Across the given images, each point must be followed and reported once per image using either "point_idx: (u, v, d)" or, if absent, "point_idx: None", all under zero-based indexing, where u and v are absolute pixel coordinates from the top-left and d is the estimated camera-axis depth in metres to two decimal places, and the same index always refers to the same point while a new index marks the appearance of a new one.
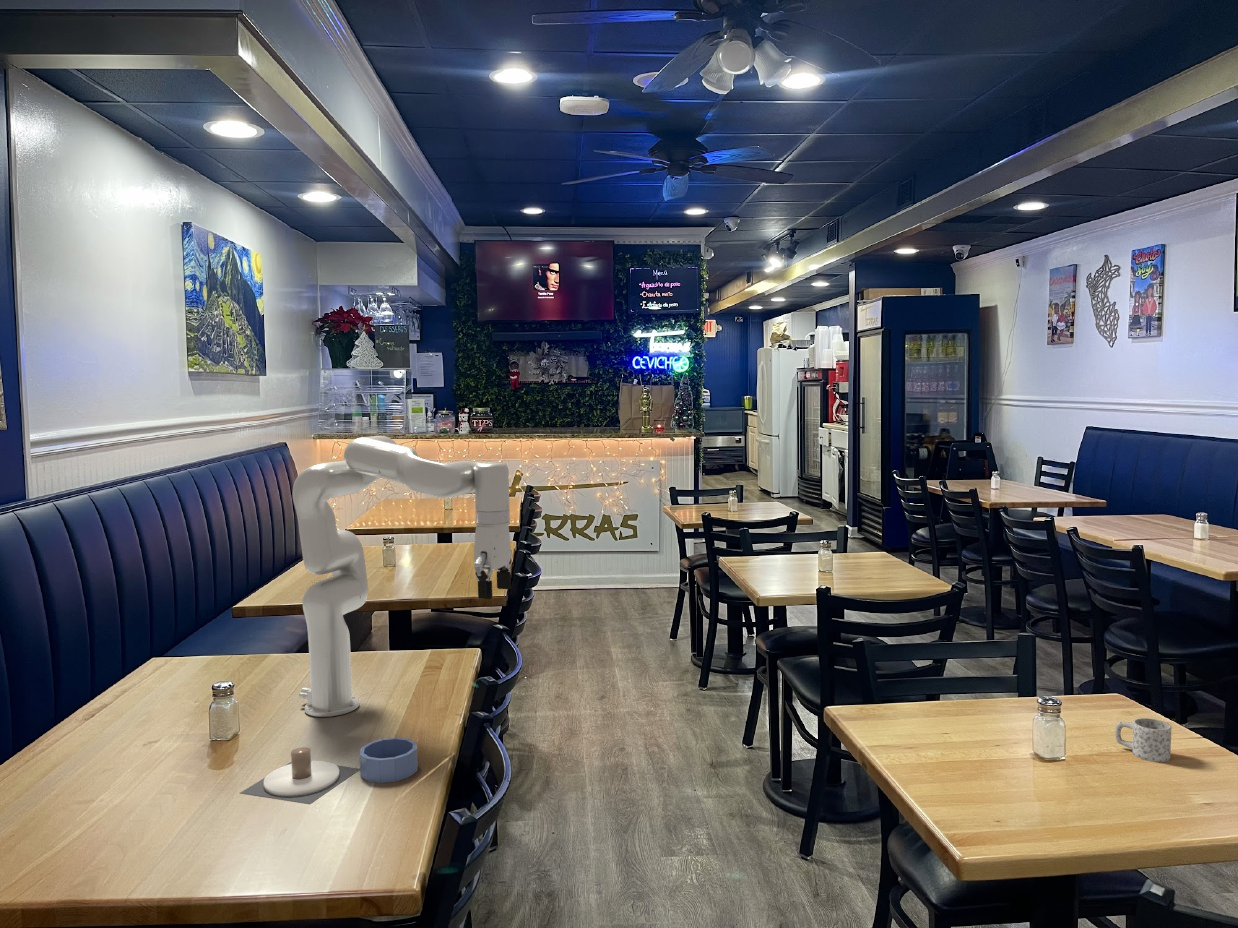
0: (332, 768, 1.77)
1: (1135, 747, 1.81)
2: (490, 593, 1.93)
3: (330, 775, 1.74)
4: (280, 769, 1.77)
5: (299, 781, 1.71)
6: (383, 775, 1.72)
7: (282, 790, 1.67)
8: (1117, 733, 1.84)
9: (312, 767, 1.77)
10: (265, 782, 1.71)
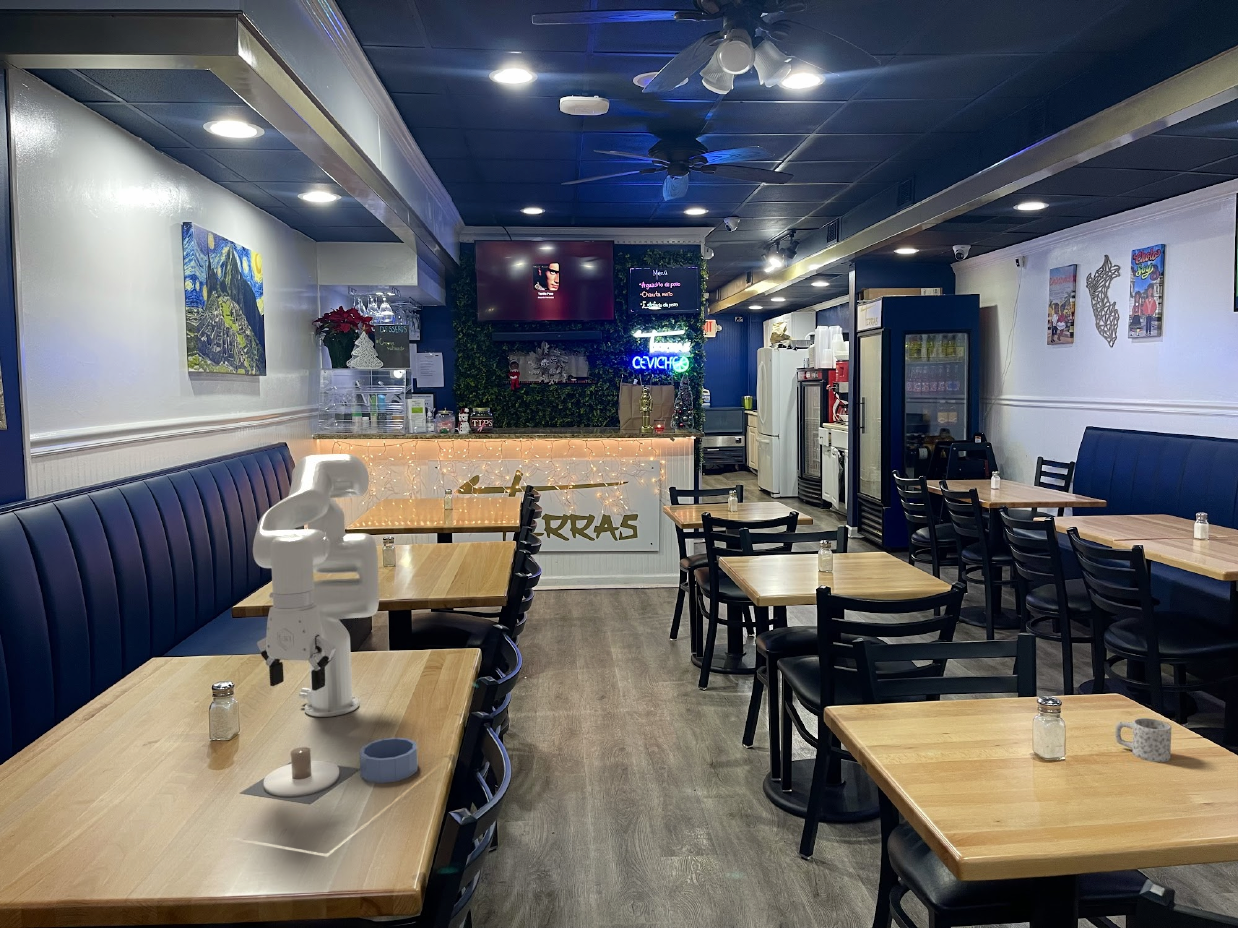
0: (332, 767, 1.77)
1: (1135, 747, 1.81)
2: None
3: (330, 775, 1.74)
4: (280, 769, 1.77)
5: (299, 781, 1.71)
6: (383, 775, 1.72)
7: (282, 790, 1.67)
8: (1117, 733, 1.84)
9: (312, 767, 1.77)
10: (265, 782, 1.71)
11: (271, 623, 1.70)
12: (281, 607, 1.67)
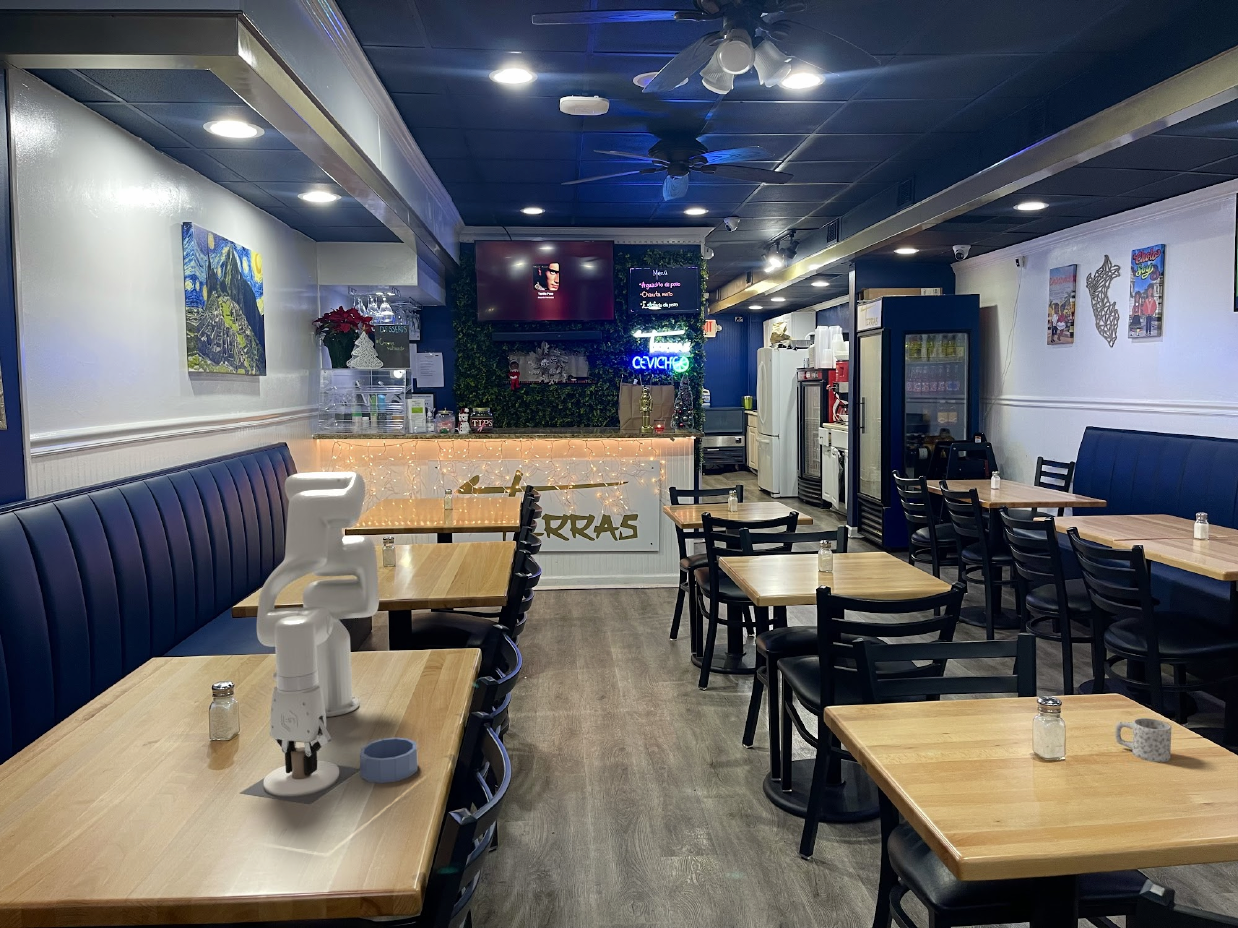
0: (332, 767, 1.77)
1: (1135, 747, 1.81)
2: None
3: (330, 775, 1.74)
4: (280, 769, 1.77)
5: (299, 781, 1.71)
6: (383, 775, 1.72)
7: (282, 790, 1.67)
8: (1117, 733, 1.84)
9: None
10: (265, 782, 1.71)
11: (275, 704, 1.71)
12: (285, 690, 1.69)
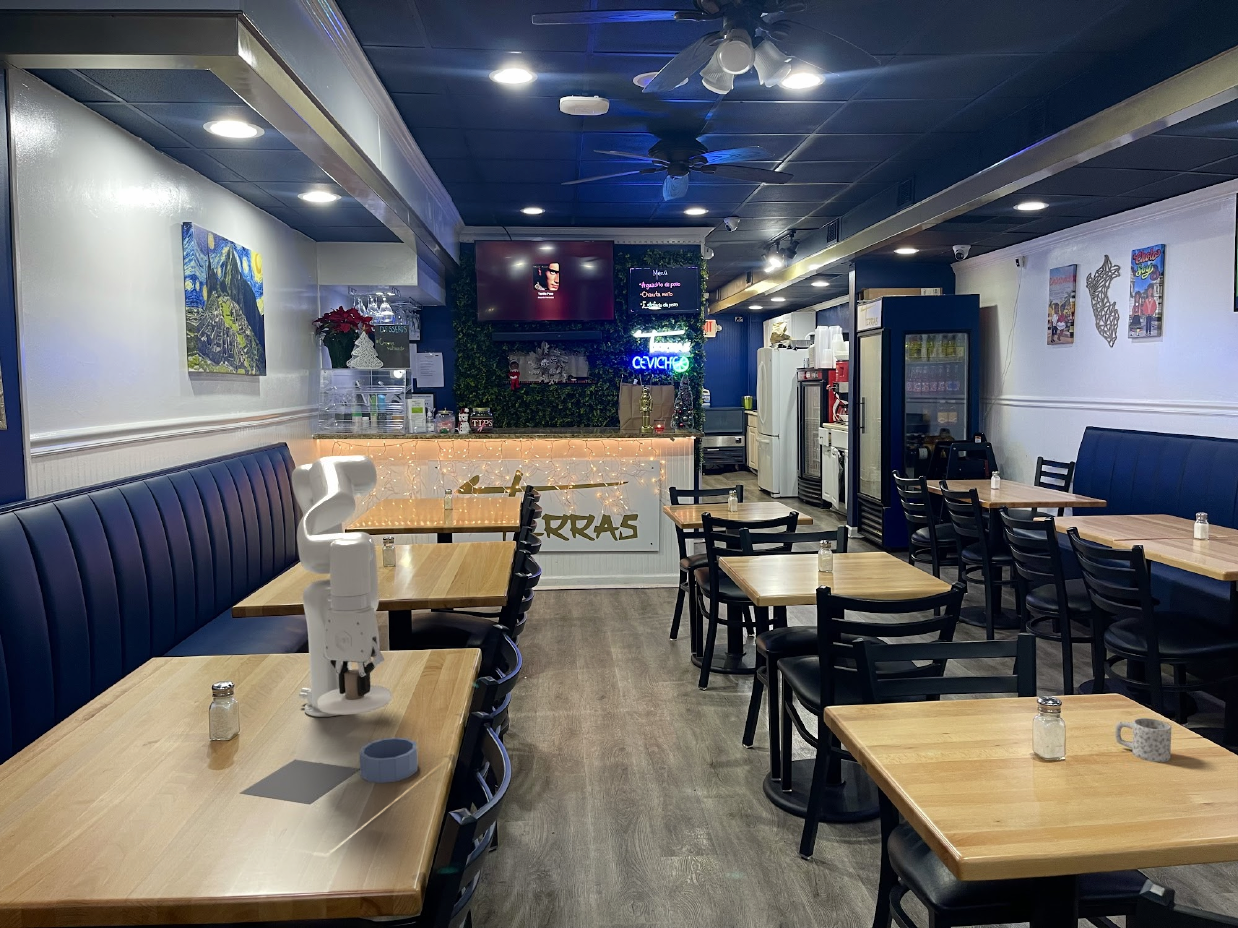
0: (384, 691, 1.78)
1: (1135, 747, 1.81)
2: None
3: (383, 696, 1.75)
4: (333, 691, 1.78)
5: (352, 701, 1.72)
6: (383, 775, 1.72)
7: (336, 708, 1.69)
8: (1117, 733, 1.84)
9: None
10: (319, 702, 1.72)
11: (329, 624, 1.73)
12: (339, 609, 1.70)
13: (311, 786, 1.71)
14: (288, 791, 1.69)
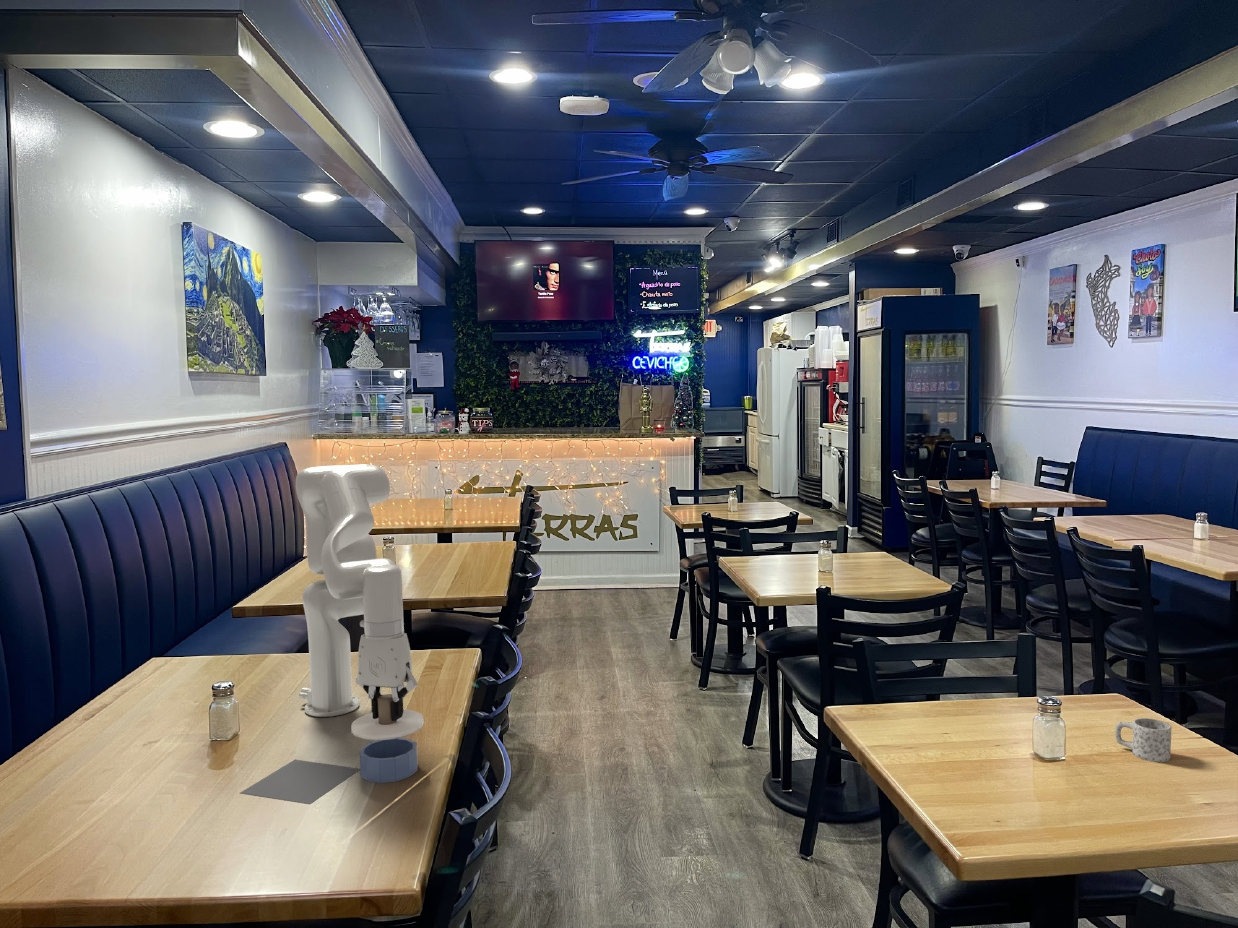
0: (416, 715, 1.80)
1: (1135, 747, 1.81)
2: None
3: (416, 721, 1.77)
4: (365, 716, 1.80)
5: (386, 726, 1.74)
6: (383, 775, 1.72)
7: (372, 734, 1.71)
8: (1117, 733, 1.84)
9: None
10: (353, 727, 1.74)
11: (362, 650, 1.74)
12: (374, 635, 1.72)
13: (311, 786, 1.71)
14: (288, 791, 1.69)
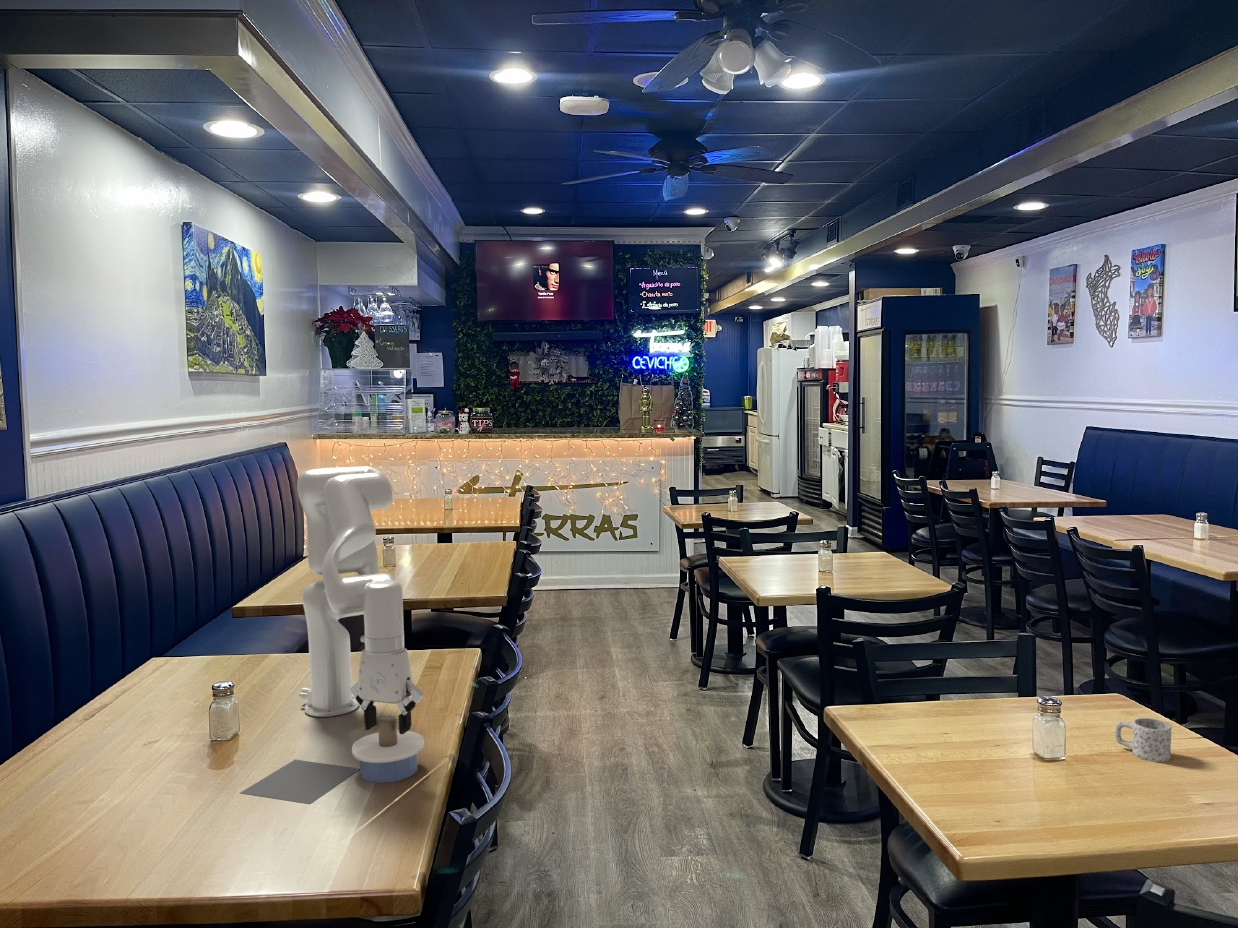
0: (416, 736, 1.81)
1: (1135, 747, 1.81)
2: None
3: (416, 743, 1.77)
4: (365, 738, 1.80)
5: (386, 748, 1.75)
6: (383, 775, 1.72)
7: (372, 757, 1.71)
8: (1117, 733, 1.84)
9: (396, 736, 1.81)
10: (354, 749, 1.75)
11: (363, 666, 1.75)
12: (374, 651, 1.72)
13: (311, 786, 1.71)
14: (288, 791, 1.69)
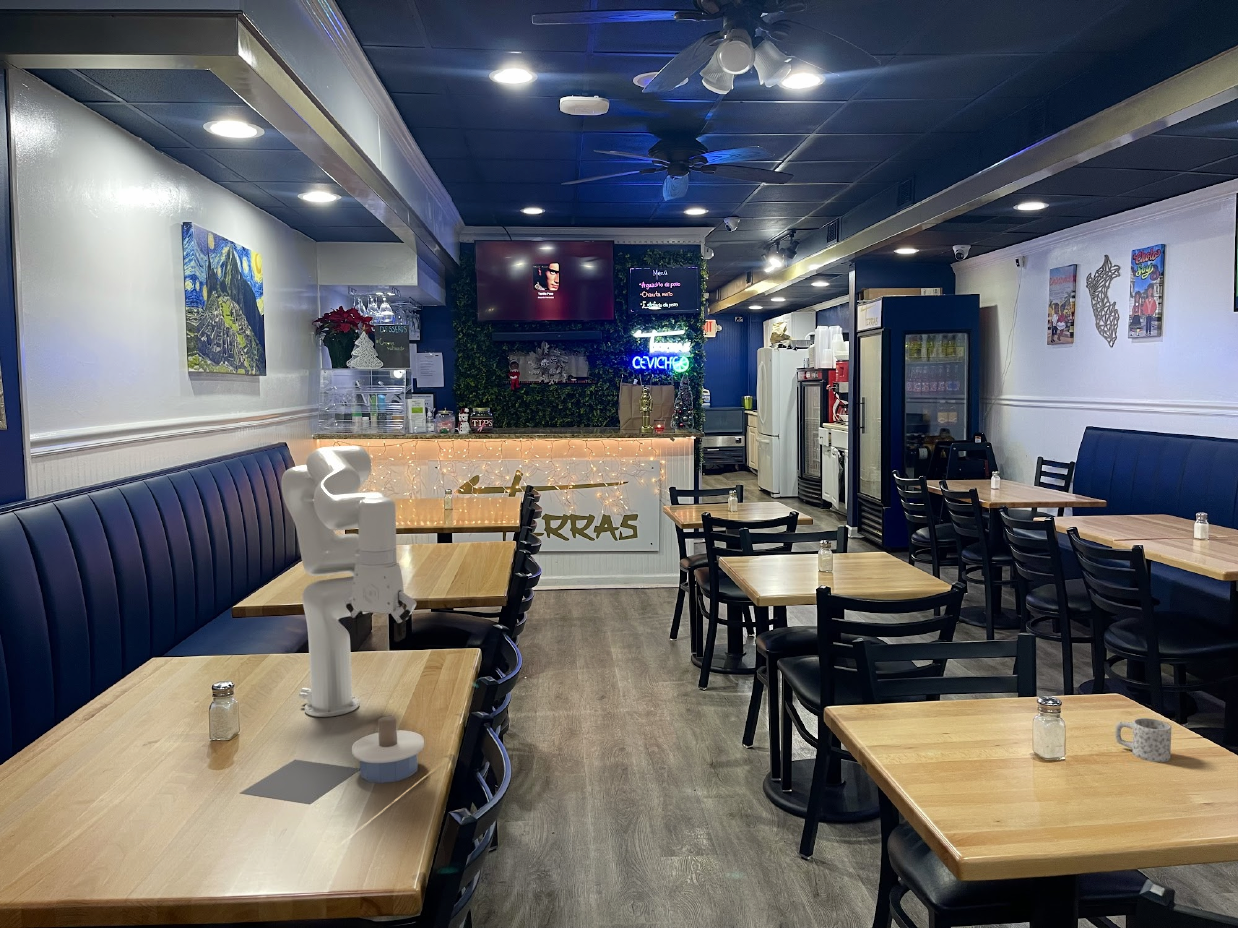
0: (416, 736, 1.81)
1: (1135, 747, 1.81)
2: None
3: (416, 743, 1.77)
4: (365, 738, 1.80)
5: (386, 748, 1.75)
6: (383, 775, 1.72)
7: (372, 757, 1.71)
8: (1117, 733, 1.84)
9: (396, 736, 1.81)
10: (354, 749, 1.75)
11: (357, 578, 1.83)
12: (367, 564, 1.80)
13: (311, 786, 1.71)
14: (288, 791, 1.69)
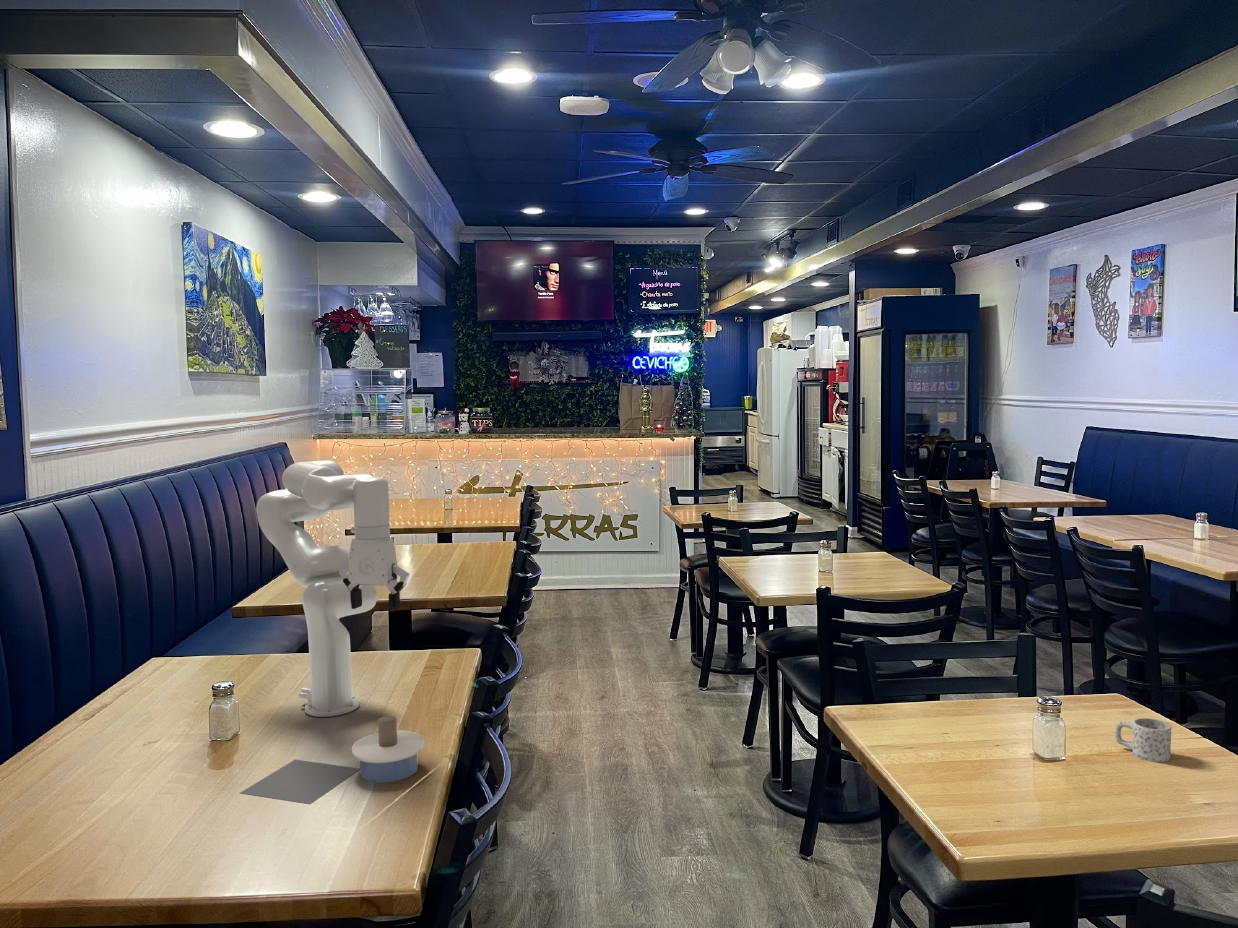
0: (416, 736, 1.81)
1: (1135, 747, 1.81)
2: None
3: (416, 743, 1.77)
4: (365, 738, 1.80)
5: (386, 748, 1.75)
6: (383, 775, 1.72)
7: (372, 757, 1.71)
8: (1117, 733, 1.84)
9: (396, 736, 1.81)
10: (354, 749, 1.75)
11: (353, 552, 1.95)
12: (363, 538, 1.92)
13: (311, 786, 1.71)
14: (288, 791, 1.69)
